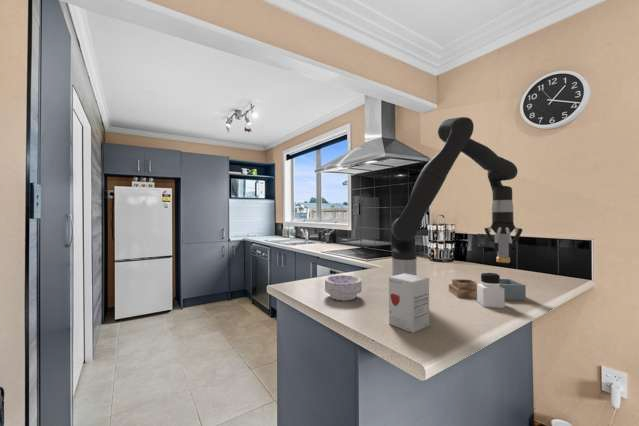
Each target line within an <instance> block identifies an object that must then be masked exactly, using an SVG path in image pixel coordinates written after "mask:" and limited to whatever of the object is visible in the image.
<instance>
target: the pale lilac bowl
mask: <svg viewBox="0 0 639 426" xmlns="http://www.w3.org/2000/svg"><path fill="white" fill-rule="evenodd" d="M362 281H363V280H362V279H361V278H360V277H358V276H357V275H356V276H355V275H349V274H336V275H330V276H327V277H325V279H324V291H325V293H327V294H328V295H329V296H330V298H331V299H333V300H335V299H336V301H339V300H342V301H341V302H347V300H349V301H352V300H355V299H356V298H357V296H358V294H360V293H362Z"/></svg>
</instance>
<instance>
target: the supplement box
mask: <svg viewBox="0 0 639 426" xmlns="http://www.w3.org/2000/svg"><path fill="white" fill-rule="evenodd" d="M388 324H389V325H391V326H394V327H397V328H399V329H402V330H404V331H407V332H410V333H412V334H414V333H416V332H418V331H420V330H423V329H425V328H427V327H429V326H430V277H427V276H421V275H411V274H406V273H404V274H400V275H395V276H392V275H391V276H388Z"/></svg>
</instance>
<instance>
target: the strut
mask: <svg viewBox="0 0 639 426" xmlns="http://www.w3.org/2000/svg"><path fill="white" fill-rule="evenodd" d="M496 254H497V255H496V256H495V257H496V258H495V259H496V262H497V263H500V264H510V263H511V257H510V255H509V254H510V253H509V234H498V252H496Z"/></svg>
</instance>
